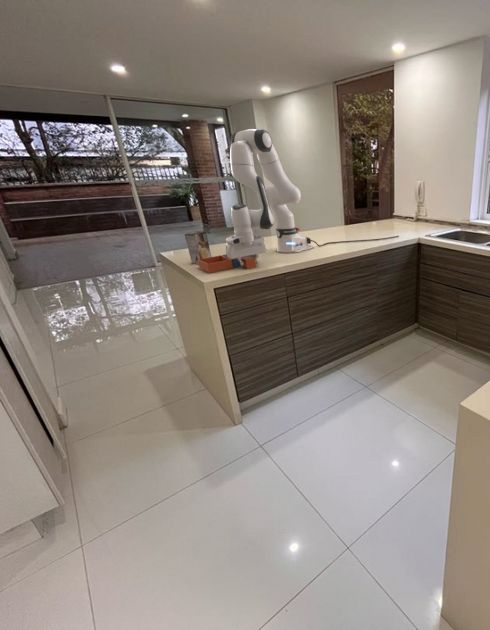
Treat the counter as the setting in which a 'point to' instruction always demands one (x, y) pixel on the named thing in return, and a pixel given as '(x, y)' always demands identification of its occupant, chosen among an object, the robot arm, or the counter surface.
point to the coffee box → (198, 246)
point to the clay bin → (215, 264)
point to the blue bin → (236, 262)
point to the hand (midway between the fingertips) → (249, 263)
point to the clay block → (249, 262)
